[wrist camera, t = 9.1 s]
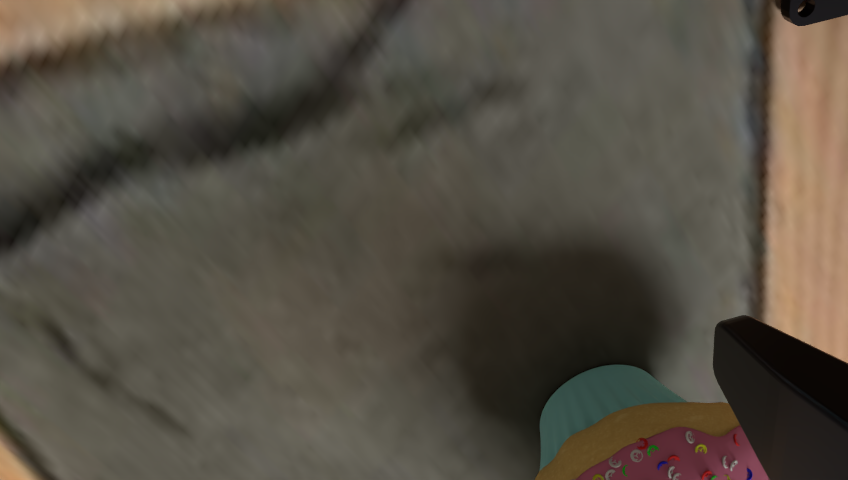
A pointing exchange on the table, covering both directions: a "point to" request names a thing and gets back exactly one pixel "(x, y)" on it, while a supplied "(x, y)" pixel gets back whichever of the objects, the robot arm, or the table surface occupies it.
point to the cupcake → (639, 432)
